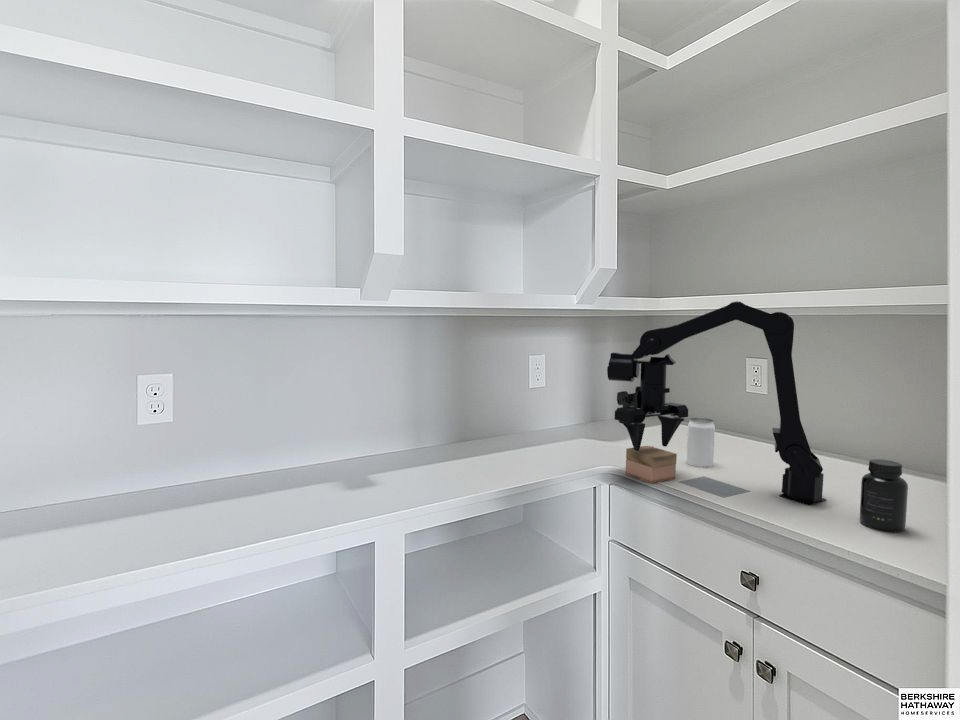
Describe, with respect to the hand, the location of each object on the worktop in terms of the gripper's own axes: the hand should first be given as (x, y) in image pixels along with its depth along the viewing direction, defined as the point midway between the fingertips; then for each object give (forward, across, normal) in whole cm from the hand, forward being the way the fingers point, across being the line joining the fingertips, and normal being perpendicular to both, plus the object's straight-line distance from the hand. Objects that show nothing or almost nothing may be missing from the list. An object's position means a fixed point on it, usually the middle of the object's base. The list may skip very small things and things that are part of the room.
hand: (650, 448), depth 125 cm
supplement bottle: (+7, -16, +41) cm, 45 cm away
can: (+7, -20, -2) cm, 22 cm away
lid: (+3, 0, 0) cm, 3 cm away
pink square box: (+7, 0, 0) cm, 7 cm away
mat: (+7, -7, +12) cm, 16 cm away
